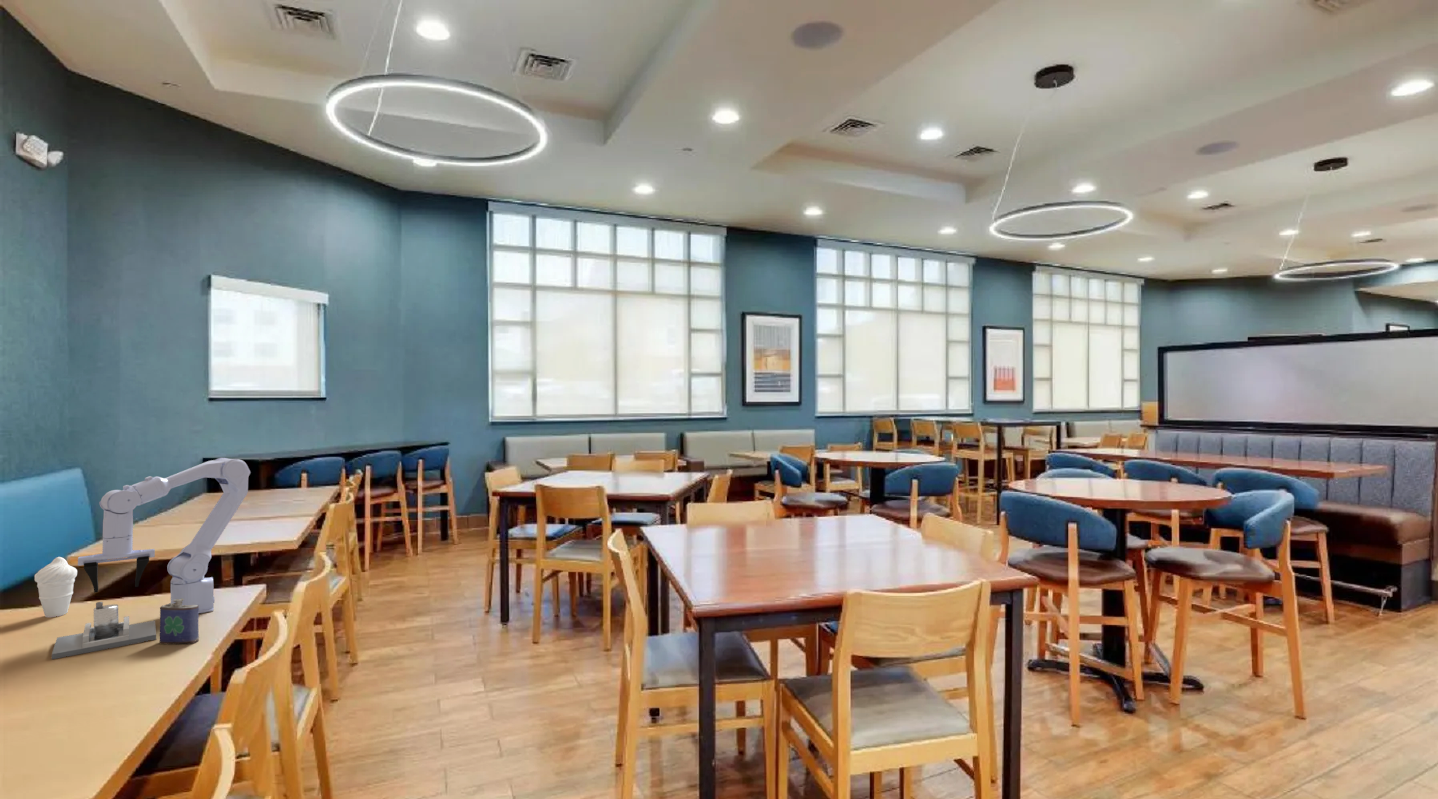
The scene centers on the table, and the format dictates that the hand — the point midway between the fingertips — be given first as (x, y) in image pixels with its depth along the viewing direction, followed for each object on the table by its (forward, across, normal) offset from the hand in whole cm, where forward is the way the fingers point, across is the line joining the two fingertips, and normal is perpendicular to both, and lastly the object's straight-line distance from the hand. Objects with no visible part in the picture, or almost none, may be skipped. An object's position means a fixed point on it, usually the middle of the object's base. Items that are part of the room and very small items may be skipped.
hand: (116, 588), depth 166 cm
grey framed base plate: (+10, +2, +10) cm, 14 cm away
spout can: (+9, +2, +9) cm, 13 cm away
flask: (+11, -12, +23) cm, 28 cm away
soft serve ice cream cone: (+11, +12, -26) cm, 31 cm away
